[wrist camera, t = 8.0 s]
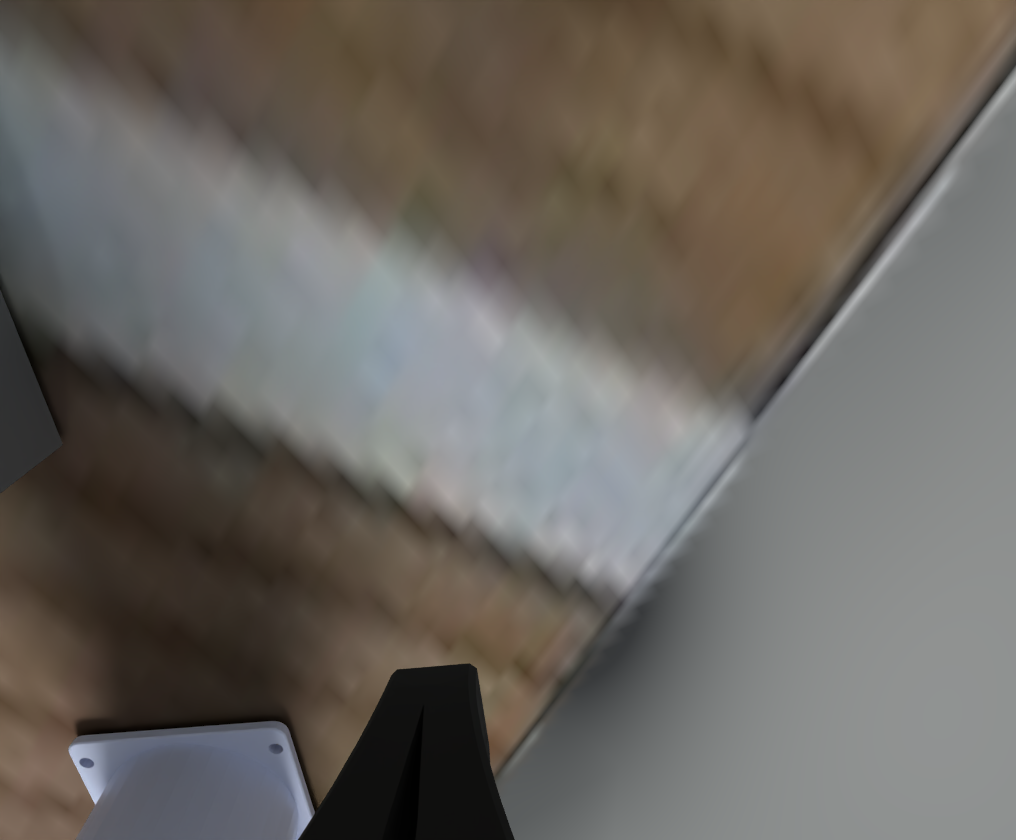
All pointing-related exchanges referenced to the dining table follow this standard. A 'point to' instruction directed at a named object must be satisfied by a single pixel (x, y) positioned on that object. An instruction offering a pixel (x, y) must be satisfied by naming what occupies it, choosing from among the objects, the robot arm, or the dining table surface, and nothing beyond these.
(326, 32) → the dining table surface
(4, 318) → the grey stepped block
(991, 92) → the dining table surface
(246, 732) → the robot arm
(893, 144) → the dining table surface
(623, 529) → the dining table surface
